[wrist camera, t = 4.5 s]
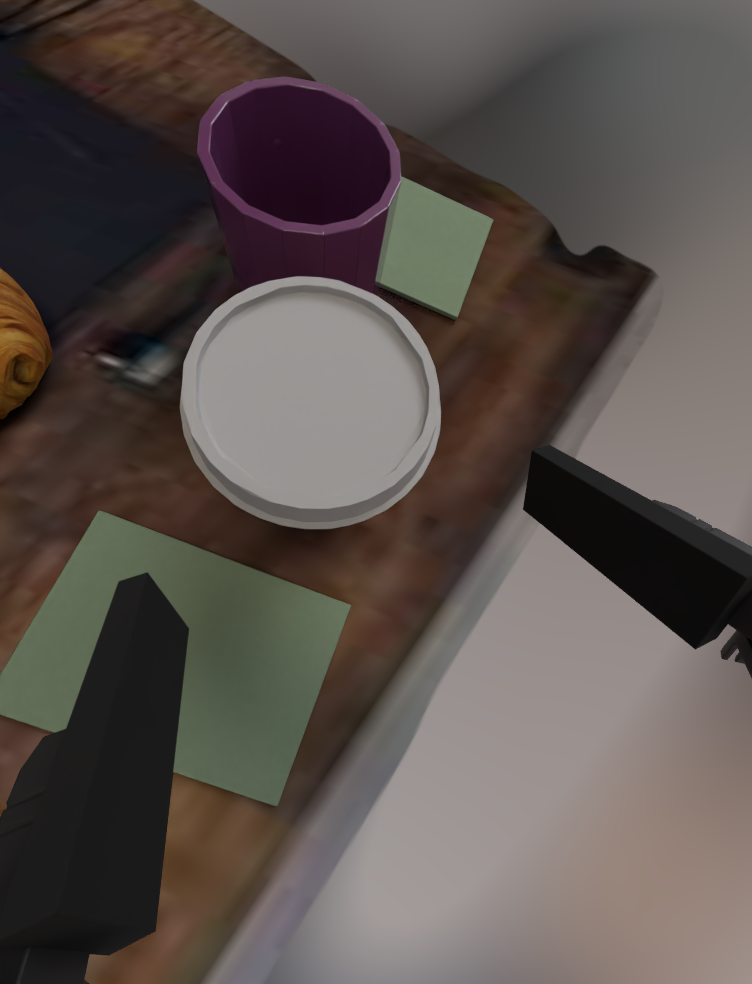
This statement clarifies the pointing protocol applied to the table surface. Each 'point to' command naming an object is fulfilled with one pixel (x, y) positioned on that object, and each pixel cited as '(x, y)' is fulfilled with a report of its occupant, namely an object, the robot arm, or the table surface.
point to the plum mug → (300, 182)
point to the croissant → (20, 345)
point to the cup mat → (189, 652)
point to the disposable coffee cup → (310, 403)
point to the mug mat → (433, 249)
